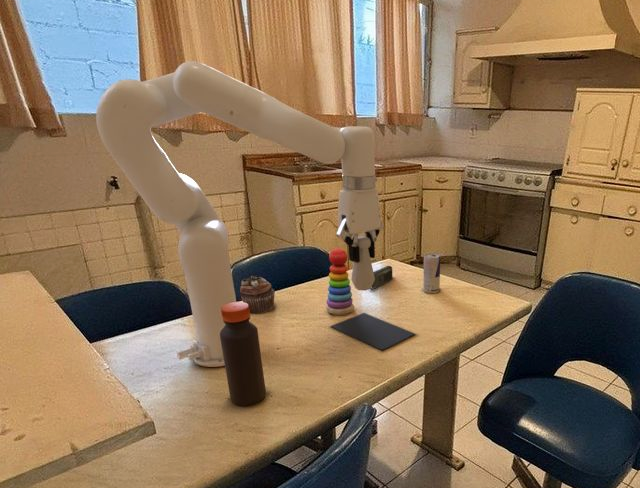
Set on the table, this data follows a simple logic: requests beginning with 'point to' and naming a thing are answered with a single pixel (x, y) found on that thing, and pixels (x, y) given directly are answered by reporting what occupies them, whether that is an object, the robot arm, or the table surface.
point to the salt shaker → (363, 266)
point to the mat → (373, 331)
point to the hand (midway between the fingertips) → (362, 258)
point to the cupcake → (257, 294)
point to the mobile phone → (382, 276)
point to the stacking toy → (339, 285)
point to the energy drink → (431, 273)
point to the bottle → (242, 355)
